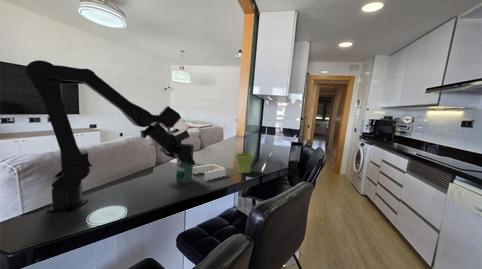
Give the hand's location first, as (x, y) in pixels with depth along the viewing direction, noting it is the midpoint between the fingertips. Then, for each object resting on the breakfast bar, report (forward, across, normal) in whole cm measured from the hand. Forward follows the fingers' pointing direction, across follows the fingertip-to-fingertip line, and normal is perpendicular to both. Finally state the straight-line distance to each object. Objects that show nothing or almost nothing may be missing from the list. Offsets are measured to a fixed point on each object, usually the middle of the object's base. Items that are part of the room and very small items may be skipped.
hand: (189, 162), depth 78 cm
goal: (+12, 0, -1) cm, 12 cm away
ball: (+15, -3, -4) cm, 15 cm away
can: (+4, 0, +7) cm, 8 cm away
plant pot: (+24, -6, -13) cm, 29 cm away
